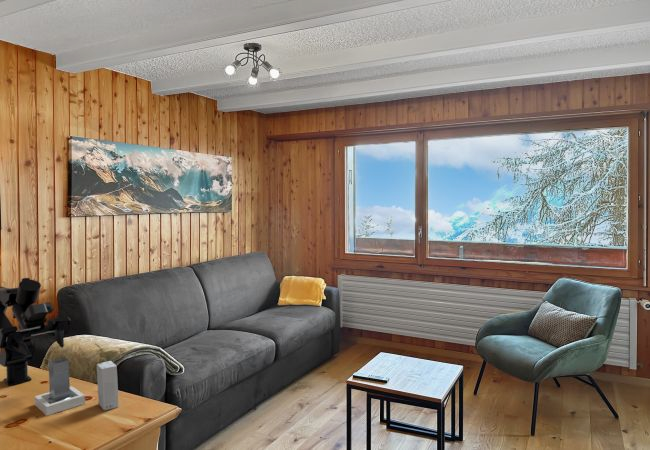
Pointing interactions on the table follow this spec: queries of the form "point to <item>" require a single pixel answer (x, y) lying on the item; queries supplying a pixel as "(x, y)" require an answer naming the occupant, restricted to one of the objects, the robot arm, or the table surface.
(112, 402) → the skincare box
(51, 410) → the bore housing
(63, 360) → the end cover
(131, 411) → the table surface
